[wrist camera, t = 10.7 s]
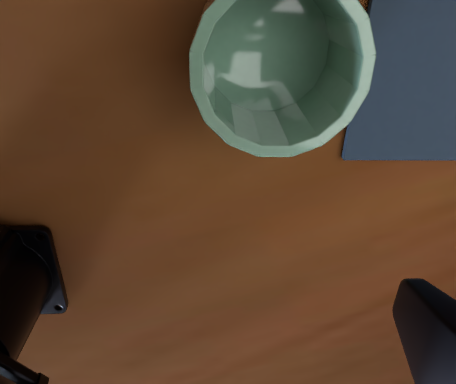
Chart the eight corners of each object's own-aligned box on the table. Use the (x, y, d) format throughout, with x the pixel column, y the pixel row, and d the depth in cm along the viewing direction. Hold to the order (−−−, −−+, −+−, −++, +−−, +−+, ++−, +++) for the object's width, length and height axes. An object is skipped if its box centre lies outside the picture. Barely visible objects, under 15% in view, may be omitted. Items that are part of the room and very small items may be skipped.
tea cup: (325, 117, 20) (356, 157, 16) (195, 116, 20) (191, 157, 15) (346, -31, 17) (394, -33, 12) (193, -35, 16) (186, -38, 12)
